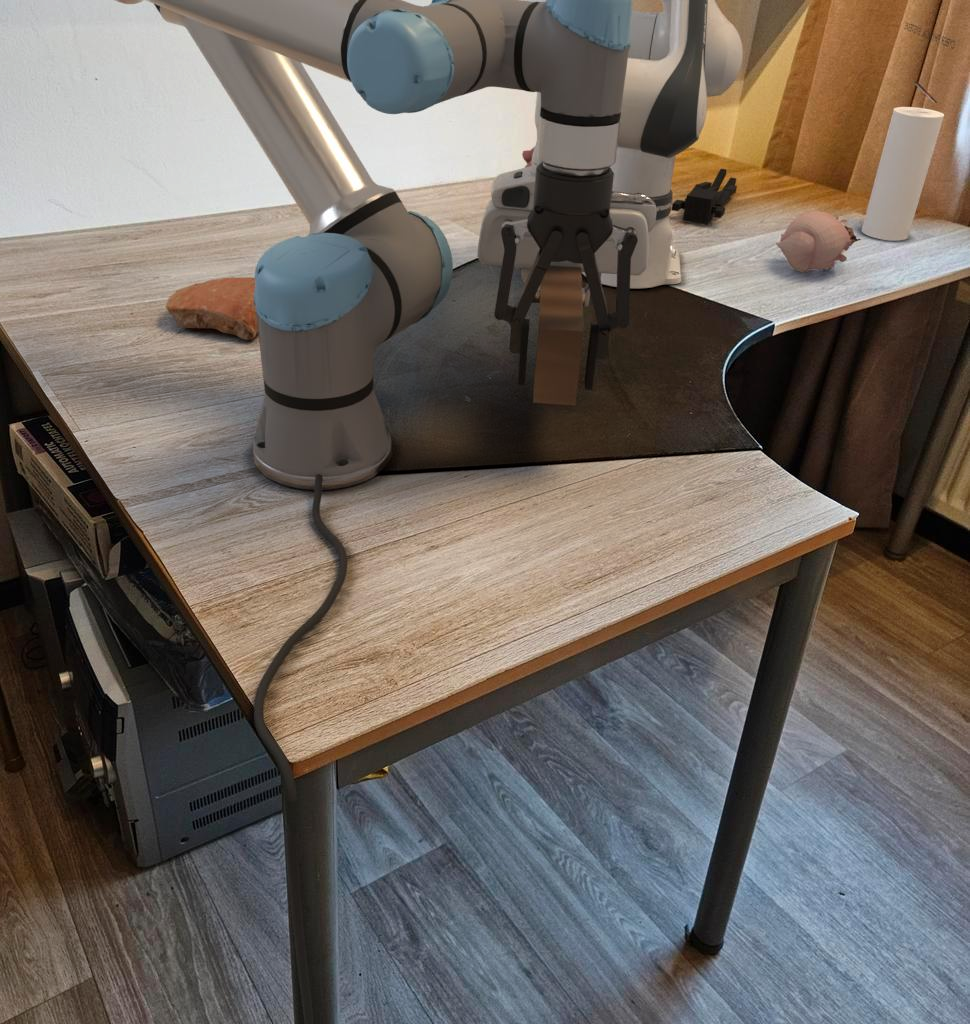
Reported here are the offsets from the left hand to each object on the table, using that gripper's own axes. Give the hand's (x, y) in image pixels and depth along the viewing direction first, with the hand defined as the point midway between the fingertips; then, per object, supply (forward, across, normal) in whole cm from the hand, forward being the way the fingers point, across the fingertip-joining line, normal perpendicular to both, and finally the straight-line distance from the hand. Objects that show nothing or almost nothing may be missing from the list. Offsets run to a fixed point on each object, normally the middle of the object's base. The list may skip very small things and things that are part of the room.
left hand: (555, 381), depth 105 cm
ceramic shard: (+9, +47, -32) cm, 58 cm away
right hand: (-2, 0, -17) cm, 17 cm away
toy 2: (+9, -44, -70) cm, 83 cm away
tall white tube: (+9, -63, -93) cm, 112 cm away
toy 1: (+9, -32, -104) cm, 110 cm away
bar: (+1, 0, -9) cm, 9 cm away
